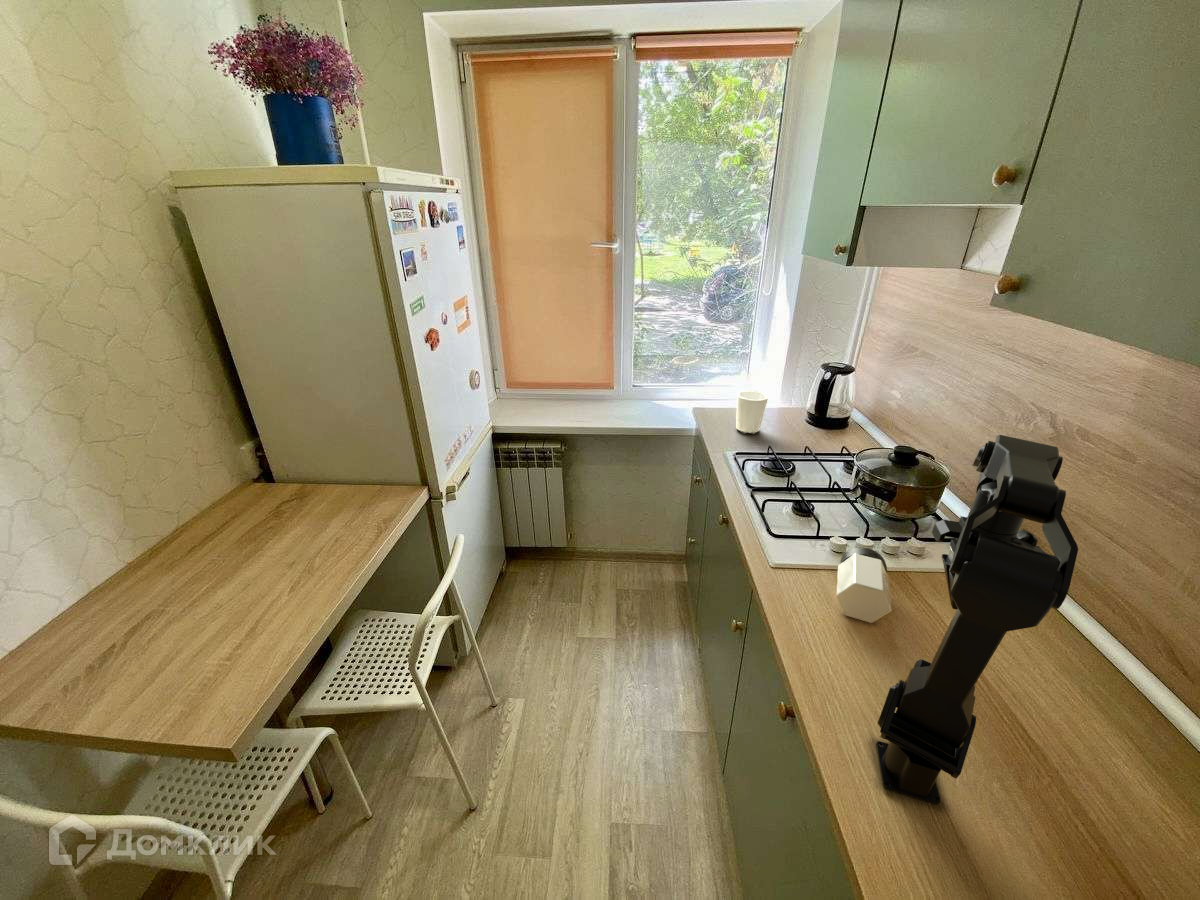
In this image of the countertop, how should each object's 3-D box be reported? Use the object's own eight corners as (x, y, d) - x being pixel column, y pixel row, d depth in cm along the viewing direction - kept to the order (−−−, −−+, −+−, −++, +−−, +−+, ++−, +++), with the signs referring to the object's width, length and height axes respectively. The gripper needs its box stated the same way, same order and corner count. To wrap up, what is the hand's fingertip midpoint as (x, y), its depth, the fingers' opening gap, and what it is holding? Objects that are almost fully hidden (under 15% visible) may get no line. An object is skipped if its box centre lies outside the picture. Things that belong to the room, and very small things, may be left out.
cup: (731, 424, 172) (735, 389, 166) (759, 425, 170) (765, 391, 165) (734, 435, 163) (739, 399, 157) (764, 437, 162) (770, 401, 156)
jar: (880, 580, 85) (878, 541, 95) (831, 586, 89) (833, 548, 99) (897, 621, 87) (893, 579, 96) (848, 625, 91) (849, 584, 101)
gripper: (1102, 578, 58) (1048, 670, 65) (1031, 499, 74) (993, 579, 81) (992, 559, 61) (951, 649, 68) (946, 487, 77) (917, 566, 84)
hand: (955, 607), depth 75 cm, fingers closed
